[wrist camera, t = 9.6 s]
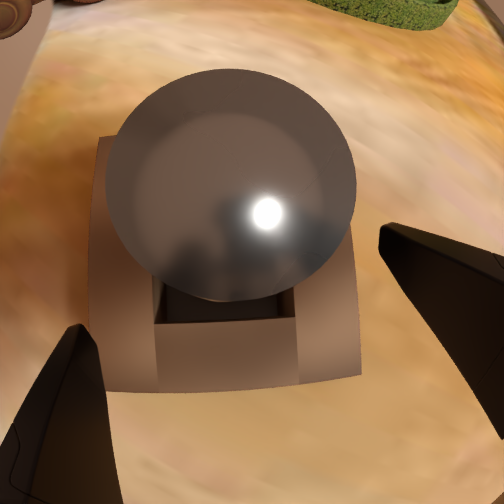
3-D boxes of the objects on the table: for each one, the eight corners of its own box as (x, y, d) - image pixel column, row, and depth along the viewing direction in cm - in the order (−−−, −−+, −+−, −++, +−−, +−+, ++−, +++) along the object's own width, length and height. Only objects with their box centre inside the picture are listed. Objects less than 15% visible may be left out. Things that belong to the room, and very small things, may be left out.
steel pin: (258, 300, 17) (370, 291, 5) (184, 303, 17) (101, 305, 4) (253, 228, 18) (335, 75, 5) (181, 230, 18) (120, 76, 5)
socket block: (345, 375, 18) (380, 390, 13) (107, 389, 16) (78, 409, 12) (324, 153, 20) (348, 118, 16) (107, 159, 18) (85, 123, 14)
